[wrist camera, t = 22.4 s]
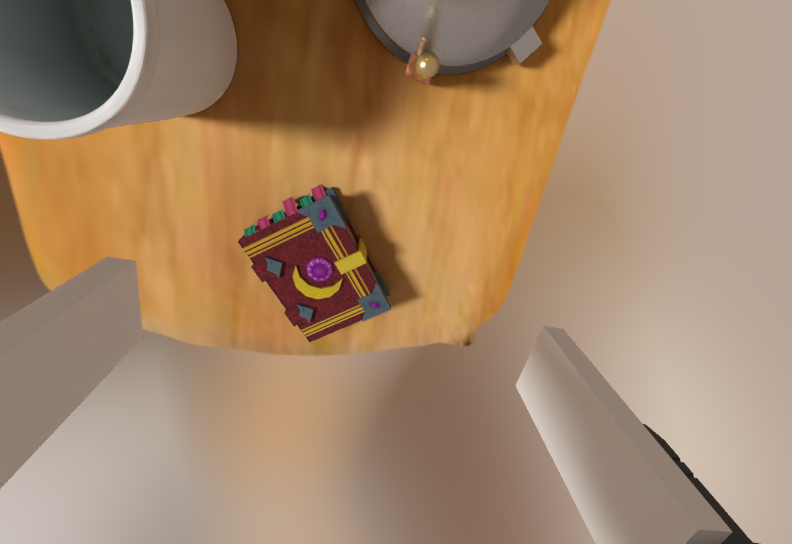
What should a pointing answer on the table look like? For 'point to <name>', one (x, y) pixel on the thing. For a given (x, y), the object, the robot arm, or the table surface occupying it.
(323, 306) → the decorative book
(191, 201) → the table surface
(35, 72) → the utensil holder
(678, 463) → the robot arm
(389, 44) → the base plate
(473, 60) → the sprocket
